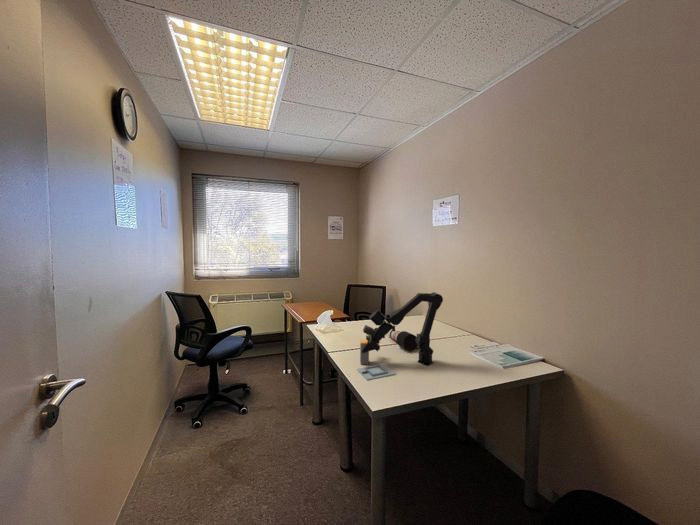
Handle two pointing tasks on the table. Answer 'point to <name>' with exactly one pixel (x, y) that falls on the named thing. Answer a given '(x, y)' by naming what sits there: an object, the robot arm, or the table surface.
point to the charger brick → (363, 356)
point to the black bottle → (404, 339)
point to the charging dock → (375, 371)
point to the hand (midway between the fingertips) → (361, 350)
